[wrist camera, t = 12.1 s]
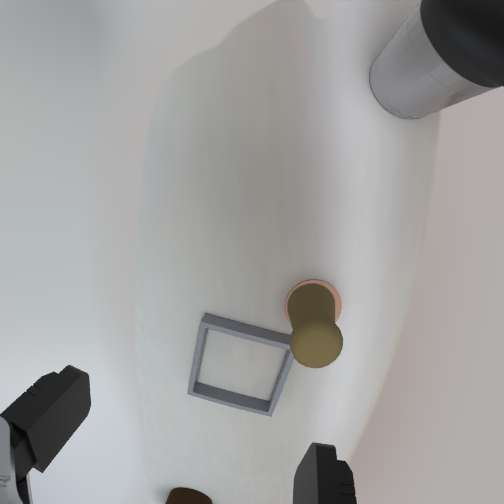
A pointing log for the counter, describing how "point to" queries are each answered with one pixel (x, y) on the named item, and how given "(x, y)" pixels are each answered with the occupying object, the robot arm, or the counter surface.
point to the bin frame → (246, 333)
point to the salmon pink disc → (325, 284)
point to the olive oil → (187, 497)
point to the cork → (314, 326)
